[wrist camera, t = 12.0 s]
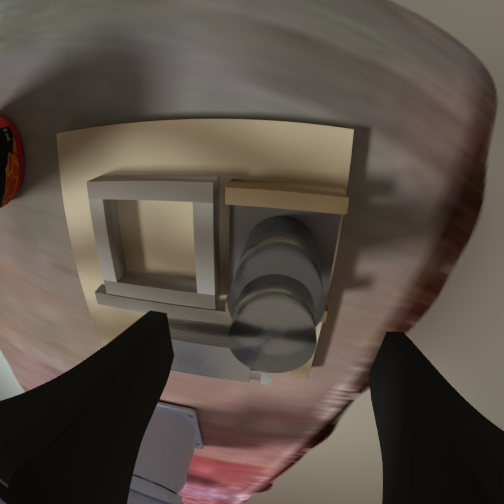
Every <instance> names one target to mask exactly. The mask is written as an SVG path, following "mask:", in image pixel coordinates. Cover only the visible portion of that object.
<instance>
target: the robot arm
mask: <svg viewBox="0 0 504 504" xmlns="http://www.w3.org/2000/svg"><path fill="white" fill-rule="evenodd" d="M173 359H174V351H173V346H172V341H171V335H170V329H169V323H168V317H167V313H163V312H157V311H151V310H150V311H149V312H147V313H146V314H145V315H143V316H142V317H141V318H140V319H138V320H137V321H136V322H135V323H133V324H132V325H131V326H130V327H128V328H127V329H126V330H125V331H123V332H122V333H121V334H119V335H118V336H117V337H116V338H114V339H113V340H112V341H110V342H109V343H108V344H107V345H105V346H104V347H103V348H101V349H100V350H98V351H97V352H96V353H94V354H93V355H91V356H90V357H88V358H87V359H86V360H84V361H83V362H81V363H80V364H78V365H77V366H75V367H74V368H72V369H70V370H69V371H67V372H65V373H63V374H62V375H60V376H58V377H56V378H55V379H53V380H51V381H49V382H47V383H45V384H42V385H40V386H38V387H36V388H34V389H32V390H30V391H27V392H25V393H22V394H20V395H17V396H14V397H12V398H8V399H5V400H2V401H0V504H184V503H181V500H182V496H179V495H178V493H179V492H180V491H181V490H182V488H183V487H184V485H185V482H186V478H187V474H188V470H189V467H190V463H191V459H192V456H193V452H194V448H197V449H203V443H202V438H201V434H200V429H199V425H198V420H197V415H196V411H195V410H193V409H191V408H185V407H180V406H176V405H171V404H167V403H162V402H158V401H159V399H160V397H161V394H162V392H163V390H164V387H165V385H166V383H167V380H168V377H169V373H170V370H171V366H172V363H173ZM369 377H370V390H371V400H372V405H373V410H374V415H375V420H376V425H377V430H378V436H379V441H380V447H381V453H382V462H383V501H382V504H504V431H502V430H501V429H500V428H498V427H497V426H496V425H494V424H493V423H491V422H490V421H489V420H488V419H486V418H485V417H484V416H483V415H482V414H481V413H479V412H478V411H477V410H476V409H475V408H474V407H473V406H471V405H470V404H469V403H468V402H467V401H466V400H465V399H464V398H463V397H462V396H461V395H460V394H459V393H458V392H457V391H456V390H455V389H454V388H453V387H452V386H451V385H450V384H449V383H448V382H447V381H446V379H445V378H444V377H443V376H442V375H441V374H440V373H439V372H438V370H437V369H436V368H435V367H434V366H433V365H432V364H431V363H430V361H429V360H428V359H427V358H426V357H425V356H424V355H423V354H422V352H421V351H420V350H419V349H418V348H417V347H416V346H415V344H413V342H412V341H411V340H410V339H409V338H408V337H407V336H406V335H405V334H404V333H403V332H386V335H385V337H384V340H383V342H382V345H381V347H380V349H379V352H378V354H377V356H376V359H375V361H374V363H373V365H372V368H371V370H370V372H369Z"/></svg>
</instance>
